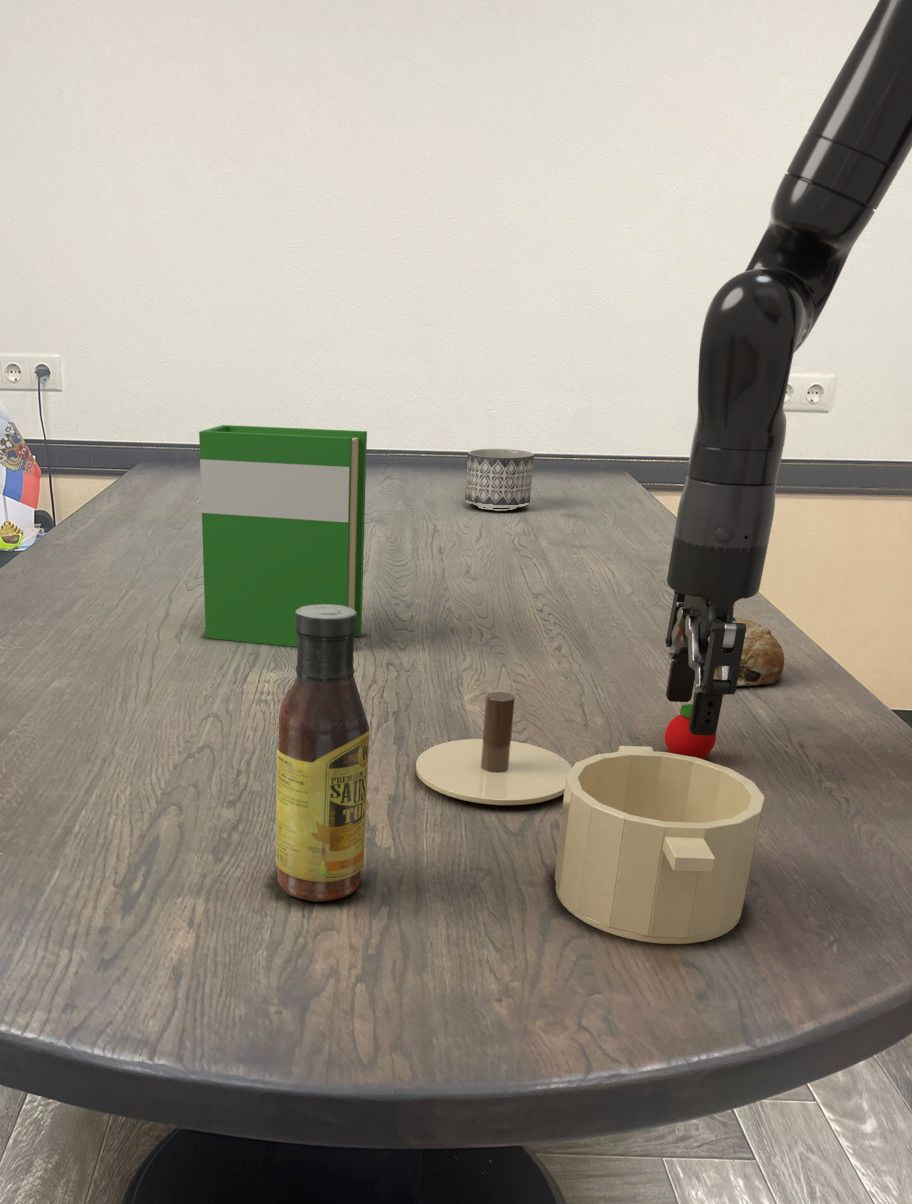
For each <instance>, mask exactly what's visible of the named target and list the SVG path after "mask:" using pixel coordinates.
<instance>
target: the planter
mask: <svg viewBox="0 0 912 1204" xmlns="http://www.w3.org/2000/svg"><path fill="white" fill-rule="evenodd" d="M534 460H535V454H534V453H533V452H532V451H527V450H520V449H510V448H508V449H507V448H483V449H482V448H480V449H479V448H478V449H473V450H468V452H467V462H466V463H467V464H466V475H465V476H466V478H465V492H464V500H465V499H466V500H468V501H471V502H475V503H482V504H493V505H519V504H525V503H529V502H530V503H531V494H532V483H533V482H532V481H533V473H534V472H533V470H534ZM530 503H529V504H530ZM471 506H473V505H471ZM473 507H474V506H473ZM477 507H478V506H477ZM477 507H476V508H477ZM484 508H485V507H484ZM493 509H509V508H493Z"/></svg>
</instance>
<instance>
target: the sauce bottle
mask: <svg viewBox="0 0 912 1204" xmlns="http://www.w3.org/2000/svg"><path fill="white" fill-rule="evenodd" d="M295 630H296V633H297V637H298V639H297V641H298V644H297V647H296V649H297V650H296V651H297V653H296V654H297V655H296V665H295V673H296V678H295V680H294V682H293V684H292V686H291V687H290V689H288V690H287V692H286V693H285V696H284V698H283V700H282V701H281V704H280V709H279V712H278V742H277V743H276V787H275V788H276V789H275V790H276V791H275V792H276V795H275V796H276V797H275V865H276V867H277V881H278V884H279V886H280V887H279V888H280V889H281V890H282V891H283V892H285V893H286V894H287V895H288V896H290V897H294V898H296V899H300V900H304V901H307V902H315V903H318V902H319V903H320V902H327V901H335V900H339V899H343V898H346V897H348V896H349V895H352V894H354V892H356V890H357V889H358V888H359V885H360V881H361V879H362V877H361V876H362V875H361V874H362V870H363V868H364V862H365V842H366V841H365V840H366V823H367V822H366V821H367V820H366V819H367V798H368V795H367V794H368V776H369V752H370V731H371V730H370V729H371V728H370V725H369V722H368V717H367V715H366V712H365V708H364V705H363V702H362V699H361V695H360V692H359V688H358V685H357V683H356V680H355V679H356V678H355V676H354V675H355V668H354V653H355V652H354V651H355V644H354V641H355V637H356V636H355V634H356V632H357V613H356V611H355V610H353V609H352V608H349V607H346V606H342V605H333V604H321V605H308V606H303V607H300V608H299V609H297V610H296V612H295Z"/></svg>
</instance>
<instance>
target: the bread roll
mask: <svg viewBox="0 0 912 1204" xmlns="http://www.w3.org/2000/svg"><path fill="white" fill-rule="evenodd" d="M735 618H736V623H745V624H746V633H745V639H744V645H743V651H742V657H741V662H740V668H739V674H738V680H737V687H741V686H743V687H749V686H760V685H772V684H775V683H776V682H777V681H778V680H779V679H780V677H781V676H782V673H783V672H784V668H785V653H784V650H783V648H782V646H781V644H780V643H779V642H778V640H777V638H775V636H774V635H772V631H771V630H770V629H769V627H766V626H763V625H761V624H759V623H758V622H756V621H753V620H749V619H745V618H742V617H741V618H740V617H739V618H737V617H735ZM721 650H723V649H721ZM728 671H729V668H728ZM713 679H718V671H717V670H715V671H714V677H713Z"/></svg>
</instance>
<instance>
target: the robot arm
mask: <svg viewBox="0 0 912 1204" xmlns="http://www.w3.org/2000/svg"><path fill="white" fill-rule="evenodd" d="M828 90H829V91H828V92H827V94H826V96H825V98H824V100H823V101H822V103H821V105H820V107H819V108H818V111H817V112H816V114H815V116H814V118H813V120H812V121H811V124H810V125H809V127H808V129H807V131H806V133H805V135H804V136H803V138H802V140H801V142H800V144H799V146H798V148H797V150H796V151H795V154H794V156H793V158H792V160H791V162H790V163H789V165H788V167H787V169H786V173H784V175H783V177H782V179H781V180H780V183H779V185H778V187H777V189H776V192H775V194H774V197H773V198H772V199H773V200H772V201H771V206H770V211H769V212H770V213H769V215H770V216H769V217H770V218H769V223H768V224H767V227H766V229H765V230H764V233H763V235H762V237H761V239H760V240H759V243H758V245H757V247H756V248H755V251H754V252H753V254H752V256H751V258H750V260H749V263H748V264H747V266H746V268H745V269H744V271H743V272H740V273H738V274H736V275H735V276H733V277H731V278H730V279H729V280H727V281H725V283H724V284H723V285H722V286H720V287H719V289H718V290H717V292H716V293H715V294H714V296H713V298H712V299H711V301H710V303H709V305H708V308H707V310H706V313H705V316H704V320H703V324H702V330H701V336H700V337H701V338H700V342H699V353H698V371H697V372H698V373H697V374H698V375H697V417H696V422H695V427H694V430H693V435H692V440H691V446H690V452H689V458H688V465H687V472H686V477H685V482H684V486H683V489H682V492H681V496H680V500H679V504H678V508H677V514H676V515H677V516H676V519H675V520H676V521H675V528H674V532H673V533H674V534H673V539H672V546H671V552H670V559H669V565H668V569H667V570H668V571H667V576H666V583H667V586H668V587H669V588H670V589H671V590H673V593H674V594H673V600H672V605H671V611H670V616H669V623H668V627H667V633H666V638H665V646H666V648H669V651H668V656H669V660H670V666H669V671H668V679H667V683H666V691H665V692H666V693H665V697H666V699H667V700H668V701H669V702H672V703H688V702H690V701H691V700H692V697H693V700H692V703H691V704H692V710H691V716H690V721H689V727H688V728H689V730H690V732H691V733H692V734H693V735H707V736H711V735H714V734H715V733H716V734H717V730H718V726H719V720H720V715H721V708H722V705H723V704H722V703H723V698H724V696H726V695H729V696H731V695H735V693H736V692H737V687H738V686H737V680H738V674H739V668H740V662H741V657H742V651H743V645H744V639H745V633H746V624H745V623H736V618H737V617H736V616H734V612H735V607H734V605H735V603H737V602H738V601H739V600H742V599H744V600H745V599H750V598H753V597H754V596H756V595H757V594H758V593H759V591H760V587H761V582H762V579H763V572H764V568H765V561H766V557H767V551H768V547H769V542H770V537H771V532H772V526H773V521H774V516H775V508H776V489H777V481H778V478H779V472H780V467H781V463H782V457H783V452H784V447H785V443H786V433H787V417H786V414H785V409H784V406H785V405H784V404H785V399H786V396H787V395H786V394H787V390H788V385H789V379H790V374H791V368H792V363H793V358H794V354H795V353H796V352H797V351H798V350H799V349H800V348H801V346H802V345H803V344H804V342H805V341H806V340H807V338H808V337H809V335H810V334H811V332H812V331H813V329H814V327H815V325H816V323H817V321H818V319H819V318H820V316H821V314H822V312H823V310H824V308H825V307H826V304H827V303H828V300H829V298H830V296H831V294H832V293H833V290H834V288H835V286H836V284H837V282H838V280H839V277H840V276H841V273H842V271H843V269H844V267H845V264H846V262H847V259H848V257H849V256H850V253H851V252H852V249H853V248H854V245H855V244H856V242H857V241H858V239H859V237H860V236H861V235H862V233H863V232H864V230H865V229H866V227H867V225H869V223H870V221H871V219H872V218H873V216H874V215H875V213H876V212H875V210H877V209H878V208H879V206H880V205H881V203H882V201H883V199H884V197H885V196H886V194H887V192H888V190H889V188H890V187H891V186H892V183H893V181H894V180H895V178H896V176H897V175H898V173H899V171H900V170H901V168H902V166H903V164H904V163H905V162H906V159H907V158H908V155H909V153H910V152H911V150H912V0H878V2H877V4H876V5H875V7H874V9H873V11H872V13H871V15H870V17H869V19H868V20H867V22H866V24H865V26H864V27H863V30H862V32H861V33H860V35H859V36H858V39H857V40H856V42H855V44H854V46H853V47H852V49H851V51H850V53H849V55H848V56H847V58H846V60H845V61H844V63H843V65H842V67H841V69H840V71H839V73H838V74H837V76H836V78H835V79H834V81H833V83H832V84H831V87H830V89H828ZM721 649H723V650H721ZM728 668H729V671H728ZM715 670H717V671H718V679H713V677H714V671H715ZM693 690H694V692H693ZM693 693H694V694H693Z"/></svg>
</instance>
